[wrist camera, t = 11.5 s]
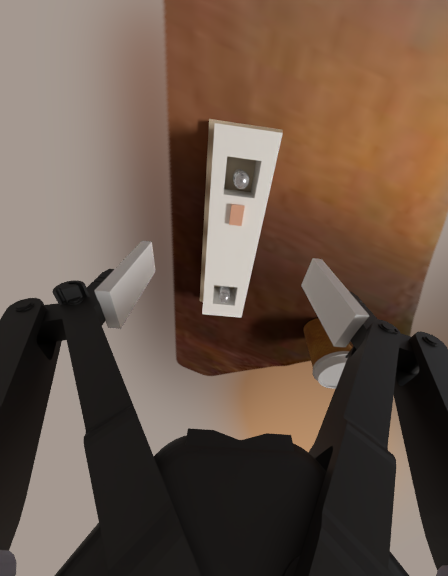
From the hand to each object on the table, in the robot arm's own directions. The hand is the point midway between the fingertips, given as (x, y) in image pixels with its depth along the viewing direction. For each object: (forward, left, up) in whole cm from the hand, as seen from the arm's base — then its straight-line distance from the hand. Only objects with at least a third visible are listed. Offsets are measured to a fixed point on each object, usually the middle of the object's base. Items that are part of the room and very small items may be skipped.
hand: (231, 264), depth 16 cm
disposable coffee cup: (+1, +33, -18) cm, 37 cm away
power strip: (+2, +3, -16) cm, 16 cm away
